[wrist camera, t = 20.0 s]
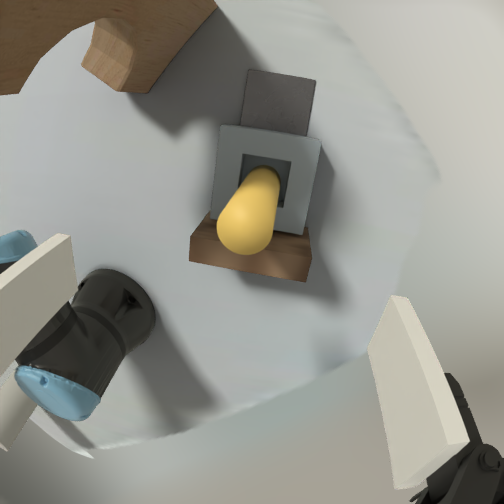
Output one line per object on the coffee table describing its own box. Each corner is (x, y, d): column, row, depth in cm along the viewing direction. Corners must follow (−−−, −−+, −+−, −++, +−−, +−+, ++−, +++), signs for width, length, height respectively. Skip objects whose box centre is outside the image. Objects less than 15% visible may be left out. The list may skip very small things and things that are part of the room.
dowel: (245, 194, 37) (214, 249, 23) (249, 162, 35) (219, 197, 21) (277, 200, 37) (267, 259, 23) (283, 168, 35) (277, 207, 21)
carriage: (217, 208, 40) (209, 218, 36) (227, 124, 35) (220, 125, 31) (301, 223, 40) (302, 235, 36) (318, 139, 35) (321, 141, 31)
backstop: (208, 231, 42) (188, 260, 34) (210, 210, 41) (190, 236, 33) (302, 248, 41) (305, 282, 33) (307, 227, 40) (311, 258, 32)
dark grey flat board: (228, 211, 40) (228, 212, 40) (248, 69, 32) (248, 69, 32) (289, 222, 40) (289, 223, 40) (315, 80, 32) (315, 80, 32)
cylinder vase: (20, 364, 67) (-23, 420, 45) (48, 394, 71) (11, 452, 48) (11, 372, 71) (-27, 422, 49) (37, 399, 75) (3, 451, 52)
